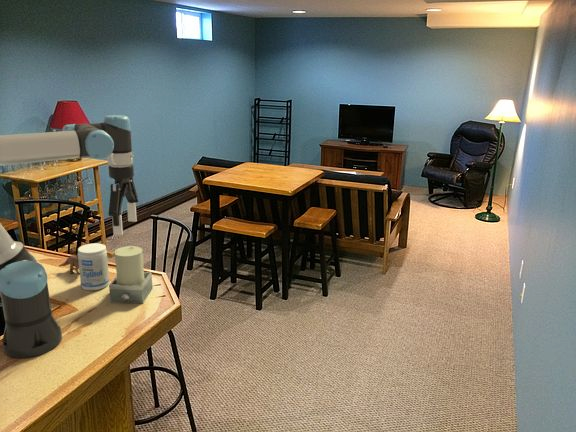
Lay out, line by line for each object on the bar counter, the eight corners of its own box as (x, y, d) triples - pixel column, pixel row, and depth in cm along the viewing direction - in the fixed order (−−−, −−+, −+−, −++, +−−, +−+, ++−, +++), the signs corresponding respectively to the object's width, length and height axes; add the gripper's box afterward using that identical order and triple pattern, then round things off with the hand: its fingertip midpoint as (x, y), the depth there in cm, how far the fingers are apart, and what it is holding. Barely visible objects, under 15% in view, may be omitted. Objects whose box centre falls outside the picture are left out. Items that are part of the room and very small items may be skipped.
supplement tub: (83, 293, 166) (78, 255, 161) (79, 283, 174) (74, 245, 169) (112, 287, 171) (108, 249, 166) (106, 277, 178) (103, 241, 174)
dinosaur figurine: (99, 270, 184) (97, 248, 182) (91, 276, 179) (88, 253, 176) (67, 266, 187) (64, 244, 184) (58, 273, 181) (54, 250, 178)
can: (149, 276, 168) (146, 245, 164) (138, 288, 159) (135, 255, 156) (123, 275, 169) (121, 243, 165) (112, 286, 160) (108, 254, 156)
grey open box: (141, 305, 159) (140, 288, 157) (109, 304, 159) (107, 286, 157) (152, 288, 171) (151, 272, 169) (122, 287, 171) (120, 271, 169)
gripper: (118, 174, 139) (123, 241, 146) (144, 157, 163) (148, 216, 170) (92, 173, 139) (99, 240, 146) (122, 156, 163) (127, 215, 170)
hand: (125, 227), depth 158 cm, fingers open, 13 cm apart
